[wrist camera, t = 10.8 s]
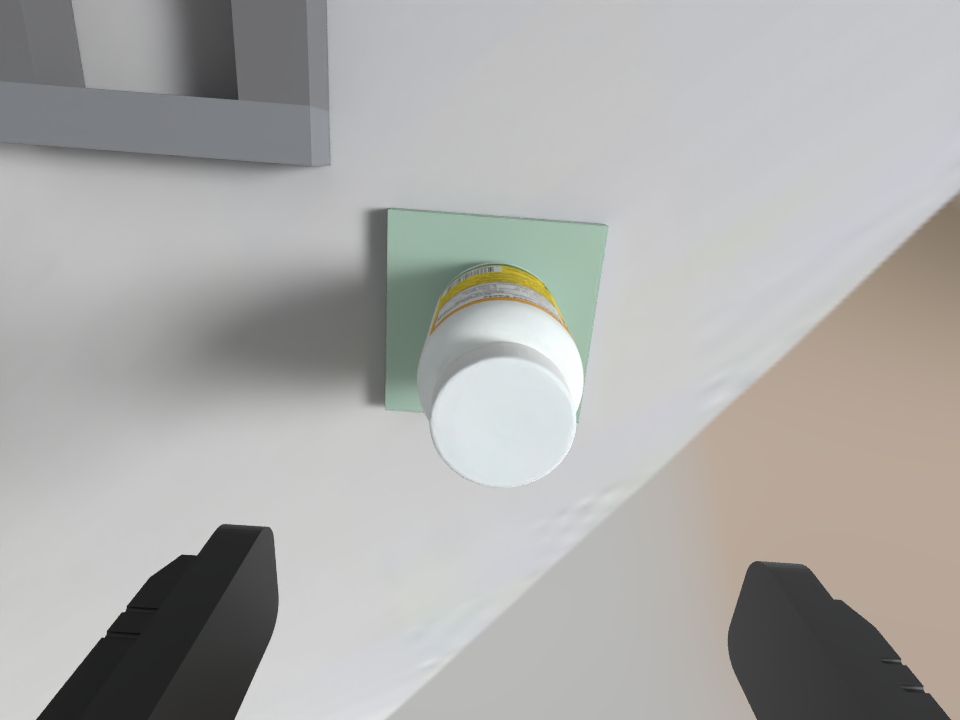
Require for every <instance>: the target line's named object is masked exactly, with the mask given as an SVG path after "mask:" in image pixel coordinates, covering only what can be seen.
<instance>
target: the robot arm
mask: <svg viewBox="0 0 960 720" xmlns="http://www.w3.org/2000/svg"><path fill="white" fill-rule="evenodd" d="M278 602H279V598H278V584H277V572H276V560H275V547H274V537H273V532H272V530H271V528H269V527H261V526H246V525H231V524H223V525H221V526H219V527H218V528H217V529H216V531H215V532H214V533H213V535H212V536H211V537H210V539H209V540H208V542H207V543H206V544H205V546H204V547H203V548H202V550H201V551H200V553H199V554H198V555H197V556H195V555H181V556H179V557H178V558H177V559H175V560H174V561H172V562H171V563H170V564H168V565H167V566H165V567H164V568H163V569H161V570H160V571H158V572H157V573H156V574H154V575H153V576H151V577H150V578H149V579H148V580H147V582H146V583H145V584H144V585H143V587H142V588H141V589H140V590H139V592H138V593H137V594H136V595H135V597H134V598H133V599H132V600H131V602H130V603H129V604H128V605H127V609H126V612H122V613H121V614H120V615H119V617H118V618H117V619H116V620H115V622H114V623H113V624H112V625H111V627H110V628H109V629H108V630H107V635H106V637H105V638H101V639H100V640H99V642H98V643H97V644H96V645H95V647H94V648H93V649H92V650H91V652H90V653H89V654H88V655H87V657H86V658H85V659H84V660H83V662H82V663H81V664H80V665H79V667H78V668H77V669H76V670H75V672H74V673H73V674H72V675H71V677H70V678H69V679H68V680H67V682H66V683H65V684H64V685H63V687H62V688H61V689H60V690H59V692H58V693H57V694H56V695H55V697H54V698H53V699H52V700H51V702H50V703H49V704H48V705H47V707H46V708H45V709H44V710H43V712H42V713H41V714H40V715H39V717H38V718H37V719H36V720H234V719H235V717H236V715H237V713H238V710H239V708H240V706H241V704H242V701H243V699H244V697H245V695H246V692H247V690H248V688H249V686H250V684H251V681H252V679H253V677H254V675H255V672H256V670H257V668H258V666H259V664H260V661H261V659H262V657H263V655H264V652H265V650H266V648H267V646H268V644H269V641H270V639H271V636H272V633H273V630H274V627H275V623H276V618H277V613H278ZM728 650H729V656H730V660H731V664H732V667H733V669H734V672H735V674H736V676H737V679H738V681H739V683H740V685H741V687H742V689H743V691H744V693H745V695H746V697H747V700H748V702H749V704H750V706H751V708H752V710H753V712H754V714H755V716H756V718H757V720H951V719H950V718H949V717H948V716H947V714H946V713H945V712H944V711H943V709H942V708H941V707H940V706H939V705H938V703H937V702H936V701H935V700H934V698H933V697H932V696H931V695H930V694H929V693H925V692H924V690H923V685H922V684H921V683H920V681H919V680H918V679H917V678H916V676H915V675H914V674H913V673H912V672H911V670H910V669H909V668H908V667H907V666H906V665H902V663H901V658H900V657H899V656H898V654H897V653H896V652H895V651H894V650H893V648H892V647H891V646H890V645H889V644H888V642H887V641H886V640H885V639H884V638H883V636H882V635H881V634H880V633H879V631H878V630H877V629H876V628H875V627H874V626H873V625H872V624H871V623H869V622H868V621H867V620H865V619H864V618H863V617H862V616H860V615H859V614H858V613H857V612H855V611H854V610H853V609H851V608H850V607H849V606H848V605H847V604H845V603H844V602H843V601H841V600H834V599H833V598H832V597H831V596H830V594H829V593H828V592H827V591H826V589H825V588H824V587H823V585H822V584H821V583H820V582H819V580H818V579H817V578H816V576H815V575H814V574H813V572H812V571H811V570H810V569H809V568H807V567H806V566H804V565H802V564H791V563H776V562H775V563H774V562H761V561H756V562H753V563H752V564H751V565H750V566H749V568H748V570H747V573H746V576H745V579H744V582H743V585H742V589H741V592H740V595H739V598H738V601H737V605H736V608H735V611H734V614H733V618H732V621H731V624H730V627H729V632H728Z"/></svg>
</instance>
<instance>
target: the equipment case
mask: <svg viewBox="0 0 960 720" xmlns="http://www.w3.org/2000/svg"><path fill="white" fill-rule="evenodd" d="M231 9H232V22H233V35H234V49H235V62H236V75H237V88H238V100H230V99H218V98H205V97H192V96H180V95H167V94H154V93H142V92H129V91H117V90H104V89H91V88H85V84H84V77H83V71H82V65H81V59H80V53H79V47H78V41H77V35H76V29H75V23H74V17H73V11H72V5H71V0H0V142H6V143H19V144H32V145H45V146H58V147H71V148H84V149H97V150H110V151H123V152H136V153H149V154H162V155H175V156H188V157H201V158H214V159H227V160H240V161H253V162H266V163H279V164H292V165H305V166H325V165H330V134H329V90H328V46H327V3H326V0H231Z"/></svg>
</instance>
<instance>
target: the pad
mask: <svg viewBox="0 0 960 720" xmlns="http://www.w3.org/2000/svg"><path fill="white" fill-rule="evenodd" d="M607 232H608V226H607V225H605V224H597V223H584V222H571V221H557V220H544V219H531V218H518V217H505V216H491V215H478V214H465V213H452V212H439V211H425V210H412V209H399V208H390V209H388V229H387V309H386V388H385V410H392V411H407V412H422V413H424V411H423V408H422V406H421V403H420V399H419V395H418V388H417V370H418V364H419V360H420V356H421V353H422V350H423V347H424V344H425V341H426V338H427V335H428V332H429V328H430V325H431V321H432V318H433V315H434V312H435V308H436V305H437V302H438V300H439V298H440V296H441V294H442V292H443V290H444V289H445V287H446V286H447V285H448V284H449V283H450V282H451V281H452V280H453V279H454V278H455V277H456V276H457V275H459V274H460V273H461V272H463V271H465V270H466V269H469V268H471V267H473V266H476V265H479V264H483V263H490V262H503V263H510V264H514V265H517V266H520V267H522V268H524V269H526V270H528V271H530V272H531V273H533V274H534V275H536V276H537V277H538V278H539V279H540V280H541V281H542V282H543V283H544V284H545V285H546V287H547V288H548V290H549V291H550V293H551V295H552V297H553V299H554V301H555V303H556V305H557V307H558V309H559V311H560V313H561V315H562V317H563V320H564V322H565V324H566V326H567V328H568V330H569V332H570V334H571V336H572V338H573V340H574V342H575V344H576V346H577V349H578V352H579V354H580V358H581V362H582V367H583V375H584V383H585V376H586V370H587V363H588V356H589V350H590V343H591V337H592V330H593V324H594V317H595V311H596V304H597V297H598V291H599V284H600V278H601V271H602V265H603V258H604V252H605V245H606V238H607ZM583 389H584V385H583ZM582 396H583V392H582ZM581 402H582V397H581V401H580V404H579V407H578V409H577V412H576V423H578V422H579V415H580V409H581Z"/></svg>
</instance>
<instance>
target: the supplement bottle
mask: <svg viewBox="0 0 960 720" xmlns="http://www.w3.org/2000/svg"><path fill="white" fill-rule="evenodd" d="M583 385H584V375H583V367H582V362H581V358H580V354H579V352H578V349H577V346H576V344H575V342H574V340H573V338H572V336H571V334H570V332H569V330H568V328H567V326H566V324H565V322H564V320H563V317H562V315H561V313H560V311H559V309H558V307H557V305H556V303H555V301H554V299H553V297H552V295H551V293H550V291H549V290H548V288H547V287H546V285H545V284H544V283H543V282H542V281H541V280H540V279H539V278H538V277H537V276H536V275H534V274H533V273H531V272H530V271H528V270H526V269H524V268H522V267H520V266H517V265H514V264H510V263H503V262H490V263H483V264H479V265H476V266H473V267H471V268H469V269H466V270H465V271H463V272H461V273H460V274H459V275H457V276H456V277H455V278H454V279H453V280H452V281H451V282H450V283H449V284H448V285H447V286H446V287H445V289H444V290H443V292H442V294H441V296H440V298H439V300H438V302H437V305H436V308H435V312H434V315H433V318H432V321H431V325H430V328H429V332H428V335H427V338H426V341H425V344H424V347H423V350H422V353H421V356H420V360H419V364H418V370H417V388H418V395H419V399H420V403H421V406H422V408H423V411H424V413H425V415H426V417H427V418H428V420H429V422H430V431H431V436H432V440H433V443H434V445H435V448H436V450H437V452H438V453H439V455H440V457H441V458H442V459H443V461H444V462H445V463H446V464H447V465H448V466H449V467H450V468H451V469H452V470H454V471H455V472H456V473H457V474H459V475H460V476H462V477H463V478H465V479H467V480H470V481H472V482H474V483H477V484H481V485H485V486H489V487H502V488H506V487H517V486H522V485H525V484H528V483H531V482H534V481H536V480H538V479H540V478H542V477H544V476H545V475H547V474H548V473H550V472H551V471H552V470H553V469H554V468H555V467H557V466H558V465H559V463H560V462H561V461H562V460H563V459H564V457H565V456H566V454H567V453H568V451H569V449H570V447H571V445H572V442H573V439H574V436H575V431H576V412H577V409H578V407H579V404H580V401H581V397H582V392H583Z"/></svg>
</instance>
